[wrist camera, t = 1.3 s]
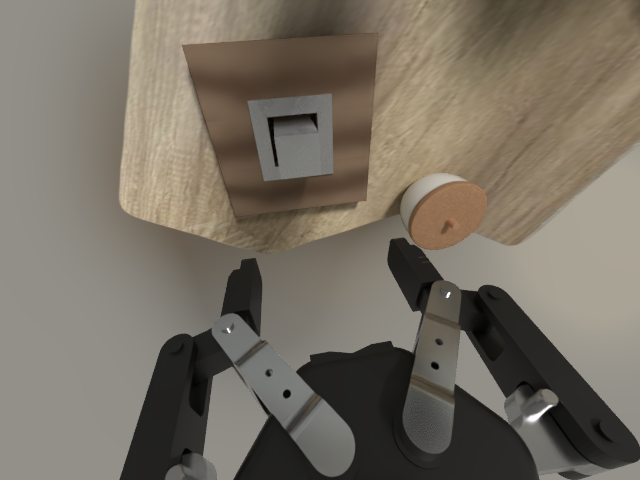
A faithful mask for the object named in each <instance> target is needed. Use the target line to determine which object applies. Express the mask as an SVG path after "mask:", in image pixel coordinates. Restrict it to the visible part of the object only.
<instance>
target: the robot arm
mask: <svg viewBox="0 0 640 480" xmlns="http://www.w3.org/2000/svg"><path fill="white" fill-rule="evenodd" d="M387 260H388V265H389V268H390V270H391V272H392V274H393V276H394V278H395V280H396V281H397V283H398V285H399V287H400V289H401V291H402V292H403V294H404V296H405V298H406V300H407V301H408V304H409V305H410V307H411V309H412V311H413V312H414V311H421V313H422V317H421V320H420V324H419V328H418V332H417V336H416V340H415V344H414V347H413V350H412V352H409V351H407V350H405V349H402V348H397V347H393V345H392V342H391V341H387V342H382V343H376V344H371V345H369V346H367V347H365V348H363V349H361V350H359V351H356V352H354V353H342V352H326V353H320V354H314V355H310V360H311V361H310V362H308V363H306V364H305V365H303V366H302V367H300V368H299V369H298V370H297V371H296V372H295V371H294V370H293V369H292V368H291V367H290V366H289V365H288V363H287V362H286V361H285V360H284V359H283V358H282V357H281V356H280V355H279V354H278V353H277V352H276V351H275V350H274V349H273V347H272V346H271V345H270V344H269V343H268V342H267V341H262V340H261V339H260V338H259V337H260V325H261V303H262V279H261V275H260V271H259V268H258V265H257V261H256V259H255V258H251V259H245V260H242V261H241V267H240V269H238V270H233V272H232V273H231V275H230V276H229V278H228V282H227V287H226V293H225V297H224V302H223V307H222V312H221V317H220V318H219V319H218V320H217V321H216V322H215V323H214V325H213V327H212V328H211V329H209V330H208V331H205V332H203V333H201V334H199V335H197V336H194V337H191V336H190V335H188V334H179V335H176V336H174V337H172V338H171V339H169V340H168V341H167V342H166V343H165V344H164V345H163V347H162V348H161V350H160V353H159V356H158V359H157V363H156V366H155V369H154V372H153V375H152V379H151V382H150V385H149V388H148V391H147V394H146V398H145V401H144V404H143V407H142V410H141V413H140V416H139V420H138V423H137V427H136V429H135V432H134V436H133V439H132V442H131V445H130V449H129V451H128V455H127V458H126V461H125V464H124V468H123V471H122V474H121V477H120V480H217V474H216V470H215V467H214V465H213V464H212V463H211V462H209V461H208V460H207V459H205V458H204V457H203V450H204V443H205V435H206V427H207V419H208V411H209V403H210V395H211V387H212V379H213V376H214V375H216V374H218V373H220V372H222V371H224V370H226V369H228V368H230V367H232V368H233V369H234V371H235V372H236V373H237V375H238V376H239V377H240V379H241V380H242V381H243V383H244V384H245V386H246V387H247V388H248V389H249V391H250V392H251V394H252V395H253V397H254V398H255V400H256V401H257V403H258V404H259V406H260V407H261V408H262V410H263V411H264V412H265V414H266V415H267V416H268V419H267V421H266V422H265V424H264V426H263V428H262V430H261V431H260V433H259V435H258V437H257V438H256V440H255V442H254V444H253V445H252V447H251V449H250V451H249V452H248V454H247V456H246V458H245V460H244V461H243V463H242V465H241V467H240V469H239V470H238V472H237V474H236V476H235V478H234V479H233V480H539V475H544V474H552V473H558V474H559V475H561V476H563V477H565V478H567V479H571V480H579V479H582V478H585V477H589V476H592V475H595V474H598V473H602V472H605V471H608V470H611V469H615V468H618V467H621V466H624V465H628V464H630V463H634V462H637V461H638V460H639V459H640V446H639V444H638V442H637V440H636V438H635V437H634V436H633V434H632V433H631V432H630V431H629V429H628V428H627V427H626V426H625V425H624V424H623V423H622V422H621V420H620V419H619V418H618V417H617V416H616V415H615V414H614V413H613V412H612V410H611V409H610V408H609V407H608V406H607V405H606V404H605V402H604V401H603V400H602V399H601V398H600V397H599V396H598V395H597V393H596V392H595V391H594V390H593V389H592V388H591V387H590V386H589V384H588V383H587V382H586V381H585V380H584V379H583V378H582V377H581V375H580V374H579V373H578V372H577V371H576V370H575V369H574V368H573V367H572V365H571V364H570V363H569V362H568V361H567V360H566V359H565V358H564V357H563V355H562V354H561V353H560V352H559V351H558V350H557V349H556V347H555V346H554V345H553V344H552V343H551V342H550V341H549V340H548V338H547V337H546V336H545V335H544V334H543V333H542V332H541V331H540V329H539V328H538V327H537V326H536V325H535V324H534V323H533V322H532V320H531V319H530V318H529V317H528V316H527V315H526V314H525V313H524V311H523V310H522V309H521V308H520V307H519V306H518V305H517V304H516V302H515V301H514V300H513V299H512V298H511V297H510V296H509V295H508V294H507V293H506V292H505V291H504V290H502V289H501V288H499V287H496V286H492V285H483V286H481V287H480V288H479V290H478V292H477V291H468V290H460V289H459V288H458V287H457V286H456V285H455V284H453V283H451V282H449V281H445V280H444V279H443V278H442V277H441V276H440V274H439V273H438V271H437V270H436V269H435V267H434V266H433V265H432V263H431V262H430V261H429V259H428V258H427V257H426V255H425V254H424V253H423V251H422V250H421V249H420V248H418V247H417V246H415V245H410V244H409V243H408V242H407V240H406V239H405V238H397V239H391V241H390V246H389V252H388V259H387ZM460 330H464V331H465V332H466V334H467V335H468V337H469V339H470V340H471V342H472V344H473V345H474V347H475V348H476V350H477V352H478V353H479V355H480V357H481V358H482V360H483V361H484V363H485V365H486V366H487V368H488V369H489V371H490V373H491V374H492V376H493V377H494V379H495V381H496V382H497V384H498V386H499V387H500V389H501V391H502V392H503V394H504V395H505V397H506V400H505V403H504V408H505V412H506V414H507V416H508V421H509V423H510V424H508V423H507V422H506V421H505V420H503V418H501V417H500V416H499V415H497V414H496V413H494V412H493V411H492V410H490V409H489V408H488V407H486V406H485V405H484V404H482V403H481V402H479V401H478V400H477V399H475V398H474V397H473V396H471V395H470V394H469V393H467V392H466V391H464V390H463V389H462V388H460V387H459V386H458V385H456V384H455V377H456V368H457V358H458V349H459V340H460Z"/></svg>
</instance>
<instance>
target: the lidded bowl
mask: <svg viewBox="0 0 640 480" xmlns="http://www.w3.org/2000/svg"><path fill="white" fill-rule="evenodd" d="M486 208H487V198H486V195H485V193H484V191H483V190H482V189H481V188H480V187H478V186H477V185H475V184H473V183H471V182H469V181H467V180H465V179H463V178H461V177H459V176H456V175H453V174H449V173H433V174H429V175H426V176H423V177H421V178H419V179H418V180H416V181H415V182H413V183H412V184H411V185H410V186H409V187H408V189H407V190H406V192H405V193H404V195H403V198H402V201H401V205H400V214H401V219H402V221H403V224H404V226H405V228H406V230H407V231H408V233H409V234H410V237H411V238H412V240H413V241H414V242H415V243H416V244H417V245H418V246H420V247H421V248H424V249H429V250H439V249H444V248H447V247H450V246H453V245H455V244H457V243H459V242H460V241H462V240H464V239H465V238H466V237H467V236H469V235H470V234H471V233H472V232H473V231H474V230H475V229H476V228H477V227H478V225H479V224H480V223H481V221H482V219H483V217H484V215H485V212H486Z"/></svg>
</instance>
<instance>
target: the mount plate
mask: <svg viewBox="0 0 640 480" xmlns="http://www.w3.org/2000/svg"><path fill="white" fill-rule="evenodd" d="M377 43H378V33H363V34H348V35H332V36H316V37H300V38H285V39H269V40H253V41H237V42H222V43H206V44H190V45H182V47H183V51H184V54H185V57H186V60H187V63H188V67H189V70H190V73H191V76H192V79H193V82H194V86H195V89H196V92H197V95H198V98H199V101H200V105H201V108H202V111H203V114H204V117H205V121H206V124H207V127H208V130H209V133H210V136H211V140H212V143H213V146H214V149H215V152H216V156H217V159H218V162H219V165H220V168H221V171H222V175H223V178H224V181H225V184H226V187H227V191H228V194H229V197H230V200H231V203H232V206H233V210H234V213H235V216H236V217H239V216H247V215H255V214H263V213H271V212H279V211H287V210H295V209H303V208H311V207H319V206H327V205H335V204H343V203H351V202H359V201H366V198H367V183H368V169H369V155H370V141H371V127H372V113H373V99H374V85H375V71H376V57H377ZM308 113H314V120H315V127H316V128H317V130H318V132H319V144H320V163H321V175H316V176H307V177H299V178H290V179H281V176H280V170H279V164H278V159H275V156H274V150H273V144H272V138H271V132H270V126H269V120H268V117H275V116H286V115H297V114H308Z"/></svg>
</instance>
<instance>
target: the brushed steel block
mask: <svg viewBox="0 0 640 480" xmlns="http://www.w3.org/2000/svg"><path fill="white" fill-rule="evenodd" d="M274 139H275V145H276V152H277V158H278V164H279V170H280V176H281V179H290V178H299V177H307V176H316V175H321V163H320V144H319V132H318V130H317V128H316V127H315V125H314V123H313V121H312V120H311V118H310V116H309V115H300V116H289V117H278V118H274Z"/></svg>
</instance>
